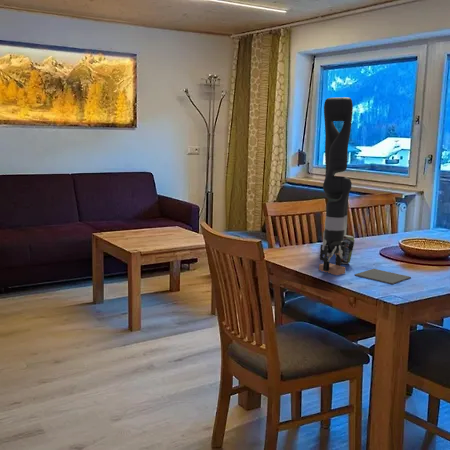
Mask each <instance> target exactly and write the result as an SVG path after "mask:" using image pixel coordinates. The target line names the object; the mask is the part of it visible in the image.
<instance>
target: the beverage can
mask: <svg viewBox="0 0 450 450" xmlns="http://www.w3.org/2000/svg"><path fill="white" fill-rule="evenodd" d="M343 241H344V242H346V251H345V256H343V258H342V259H341V264H342V265H347V264H349V263H351V260H352V259H351V258H352V253H353V249H354V244H355V238H354V236H353V235H348V234H346V235H344V240H343ZM341 251H342V253H343V250H341Z"/></svg>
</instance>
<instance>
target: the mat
mask: <svg viewBox="0 0 450 450" xmlns="http://www.w3.org/2000/svg"><path fill="white" fill-rule="evenodd" d="M354 276H355V277H359V278H363V279H368V280H371V281H377V282H380V283H385V284H388V285H395V284H399V283H402V282H404V281H407V280H409V279H412V277H411V276H408V275H404V274H399V273H395V272H390V271H386V270H381V269H377V268H372V269H371V268H370V269H368V270H365V271H361V272H358V273H355V274H354Z"/></svg>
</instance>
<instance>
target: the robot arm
mask: <svg viewBox="0 0 450 450" xmlns="http://www.w3.org/2000/svg"><path fill="white" fill-rule="evenodd" d="M353 104H354V103H353V100H352V98H351V97H345V96H343V97H328V98H326V99H325V101H324V105H323V117H324V129H325V130H324V131H325V133H324V135H325V139H324V140H325V142H324V159H325V160H324V161H325V174H324V175H325V178H324V180H323V184H322V189H323V192H324V195H325V198H327V199H328V200H329V201H328V202H327V203H326V211H325V212H326V214H325V215H326V216H325V221H324V230H323V234H322V235H323V236H322V244H320V249H319V252H320V253H319V260H320V261H322V262H323V263H322V264H323V270H324V271H329V263H331V262H330V261H331V258H332V257H333V256H335V260H334V261H335V262H334V264H335V265H339V266H342V263H341V259H342V258H343V256H345V251H346V242H344V241H343V240H344V235H347V226H348V212H349V211H348V208H349V197H350V192H351V189H352V186H353V185H352V180H351V179H350V178H349V177H348V176H339V175H338V176H335V175H336V174H338V173H342V172H345V171H346V170H347V168H348V154H349V153H348V149H349V148H348V147H349V141H350V134H351V129H352V123H353V121H352V119H353V112H354V111H353V109H354V107H353V106H354V105H353ZM334 122H343V125H342V127H341V129H340V131H338V129H337V128H336V126H335V123H334ZM341 250H343V253H342V251H341Z"/></svg>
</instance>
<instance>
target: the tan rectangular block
mask: <svg viewBox="0 0 450 450" xmlns="http://www.w3.org/2000/svg"><path fill="white" fill-rule="evenodd" d="M319 270H321V271H320V272H323V271H324V270H323V263H319V264H318V271H319ZM327 272H328V274H330V273H331V275H335V276H339V275H345V274H346V267H345V266H342V265H341V266H339V265H335V263H332V262H330V263H329V271H324V273H327Z"/></svg>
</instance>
